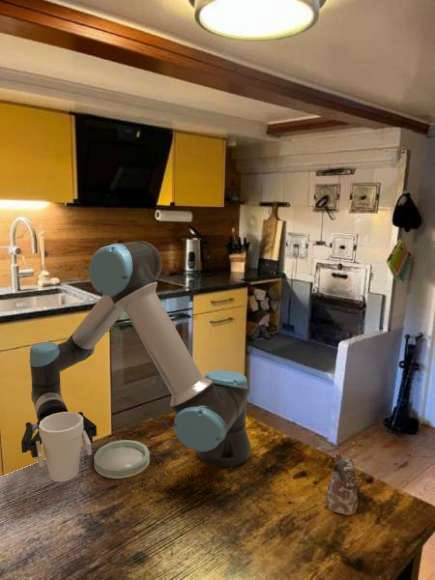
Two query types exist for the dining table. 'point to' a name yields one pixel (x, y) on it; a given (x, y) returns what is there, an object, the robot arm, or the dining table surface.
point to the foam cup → (62, 444)
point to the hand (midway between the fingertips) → (66, 455)
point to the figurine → (342, 487)
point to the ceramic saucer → (121, 459)
